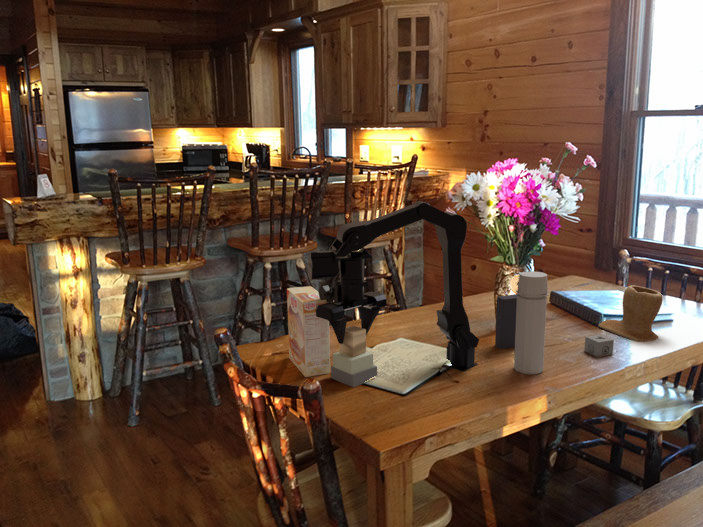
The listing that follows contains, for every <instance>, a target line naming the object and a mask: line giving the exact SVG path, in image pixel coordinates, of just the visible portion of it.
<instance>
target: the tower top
mask: <svg viewBox="0 0 703 527" xmlns="http://www.w3.org/2000/svg"><path fill="white" fill-rule="evenodd" d="M373 365H374V353H372V352H371V351H370V352H369V351H367V350H366V353H364V354H361V355H358V356H356V357H350V356H347V355H344V354H342V353H340V350H339V351H336V352H333V353H332V366H333V367H335V368H337V369H339V370H342V371H344V372H347V373H349V374H351V375H352V374H355V373H358V372H361V371H364V370H367V369H370V368H373Z"/></svg>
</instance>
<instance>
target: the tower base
mask: <svg viewBox="0 0 703 527" xmlns="http://www.w3.org/2000/svg"><path fill="white" fill-rule="evenodd" d="M330 375H331V376H330V377H331V379H332V380H335V381H337V382H339V383H342V384H344V385H346V386H349V387H352V388H356V387H359V386H361V385H364V384H365V383H364V382H365V381H367V380H369V379H370V378H372V377H374V376H376V375H377V376H378V366H376V365H374V364H373V368H370V369H367V370H364V371H361V372H358V373H355V374H352V375H351V374H349V373H347V372H344V371H342V370H339V369H337V368H335V367H333V365H332V366H331V365H330Z"/></svg>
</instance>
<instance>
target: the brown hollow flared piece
mask: <svg viewBox="0 0 703 527" xmlns="http://www.w3.org/2000/svg"><path fill="white" fill-rule="evenodd" d="M663 300H664V298H663V294H662V293H661V292H660V291H658V290H655V289H652V288H649V287H644V286H639V285H628V286H627V287H626V289H624V291H623V297H622V319H621V320H619V319H607V320H604V321H601V322H600V323H599V325H598V327H599V328H600V329H603V330H605V331H607V332H610V333H612V334H615V335H618V336H620V337H622V338H625V339H629V340H631V341H635V342H641V343H642V342H652V341H654V340H657V339H658V338H659V336H658V334H656V333H655V332H654V331H653V330H652V327H653V323H654V321H655V319H656V318H657V316H658V314H659V312H660V310H661V307H662V304H663Z"/></svg>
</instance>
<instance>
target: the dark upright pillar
mask: <svg viewBox="0 0 703 527" xmlns="http://www.w3.org/2000/svg"><path fill="white" fill-rule="evenodd" d="M517 295H518V294H517V293H516V294H508V295H507V294H506V295H499V296H497V297H496V309H495V313H496V314H495V335H494V336H495V340H494V342H495V343H494V347H496V348H498V349H499V350H505V349H512V348H515V332H516V307H517Z"/></svg>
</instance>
